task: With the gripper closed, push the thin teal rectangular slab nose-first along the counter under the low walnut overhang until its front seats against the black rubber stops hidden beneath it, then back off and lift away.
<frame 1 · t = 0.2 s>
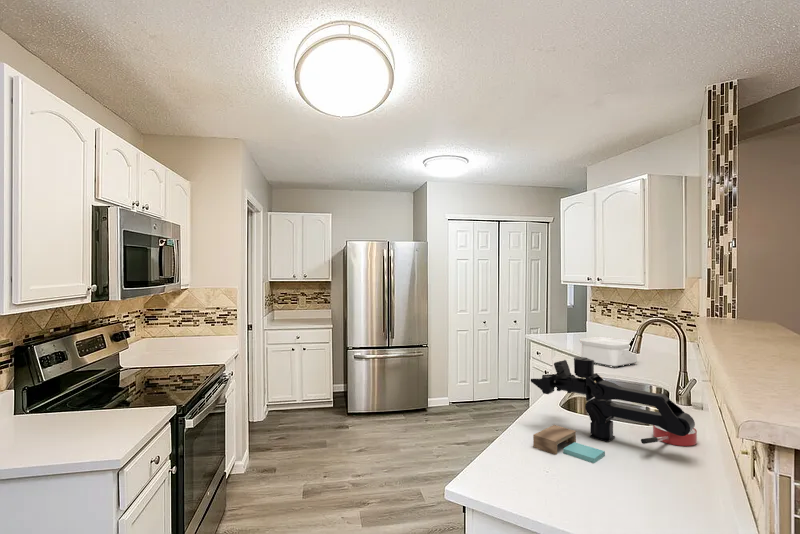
hand: (536, 378, 171), 17 cm above the countertop, fingers open, 9 cm apart
teal rectangular slab: (583, 456, 139), on the countertop
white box: (608, 363, 279), on the countertop
overhang: (554, 445, 146), on the countertop
frying pan: (666, 447, 145), on the countertop
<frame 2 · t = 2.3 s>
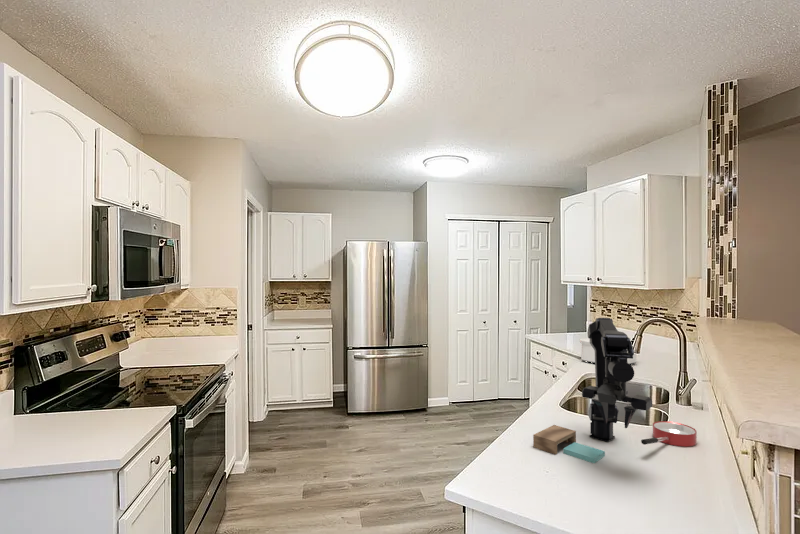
hand: (615, 425, 131), 12 cm above the countertop, fingers open, 6 cm apart
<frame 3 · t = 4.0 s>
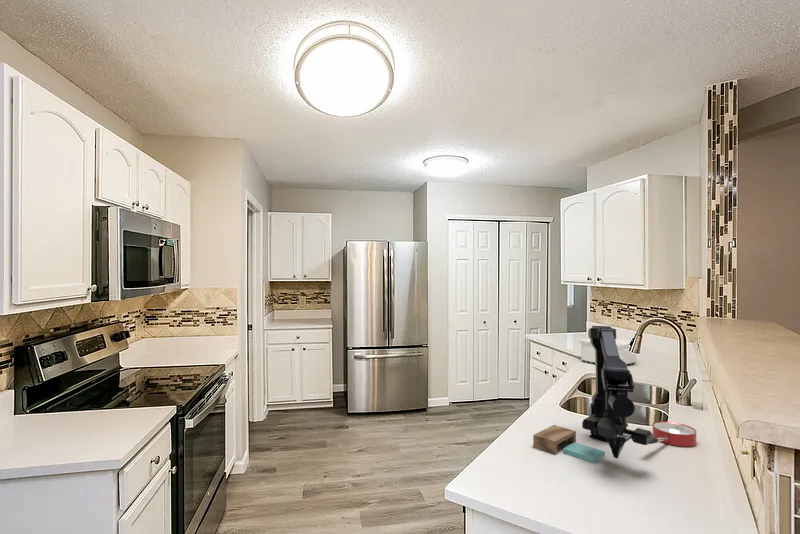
hand: (616, 457, 131), 2 cm above the countertop, fingers closed
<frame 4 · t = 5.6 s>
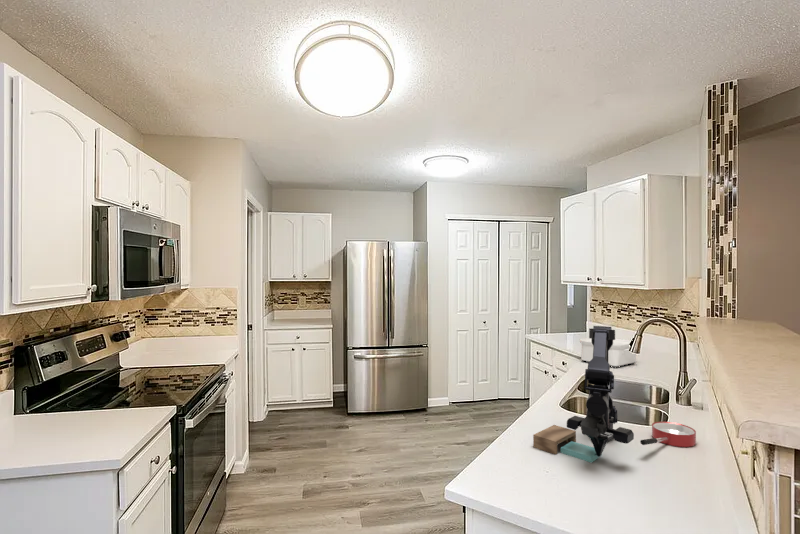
hand: (599, 456, 135), 1 cm above the countertop, fingers closed
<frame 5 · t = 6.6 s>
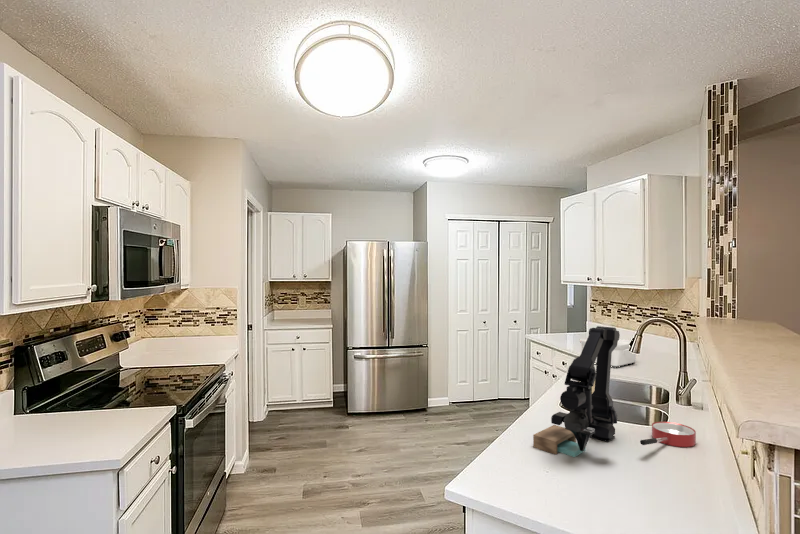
hand: (582, 450, 139), 1 cm above the countertop, fingers closed
teal rectangular slab: (565, 450, 143), on the countertop
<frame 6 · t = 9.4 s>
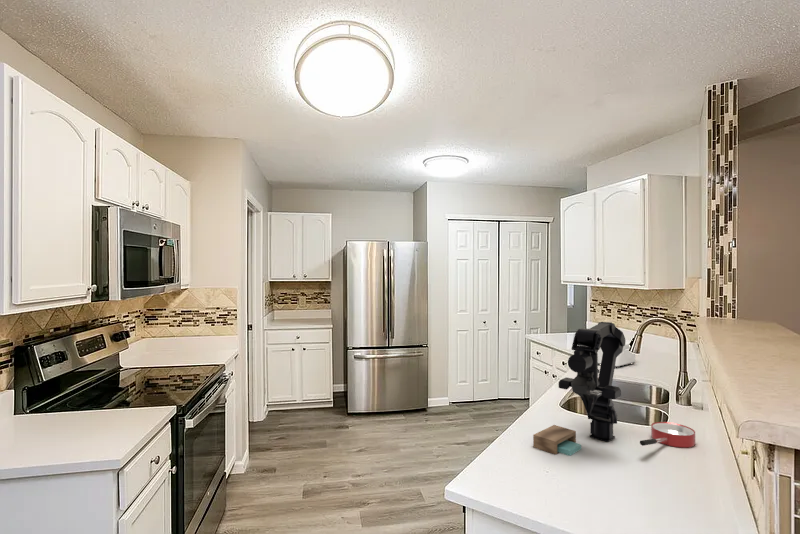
hand: (588, 413, 143), 12 cm above the countertop, fingers closed
teal rectangular slab: (561, 449, 144), on the countertop
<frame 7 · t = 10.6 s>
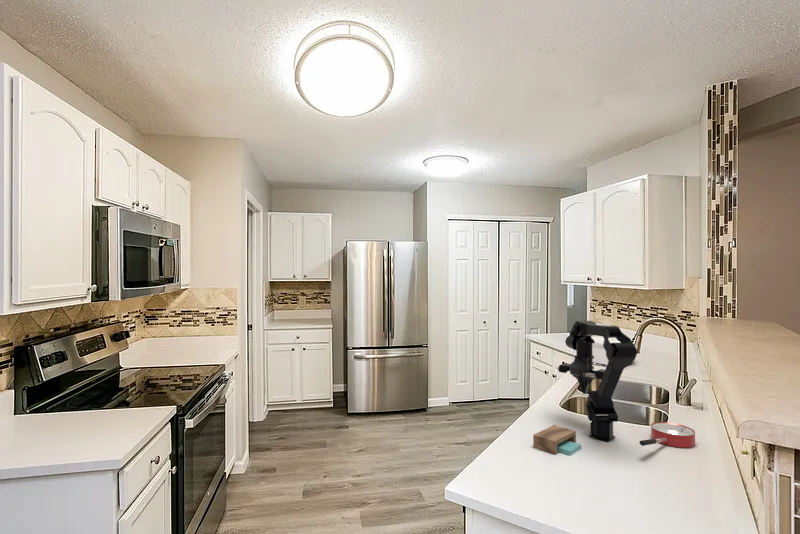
hand: (584, 393, 166), 12 cm above the countertop, fingers closed
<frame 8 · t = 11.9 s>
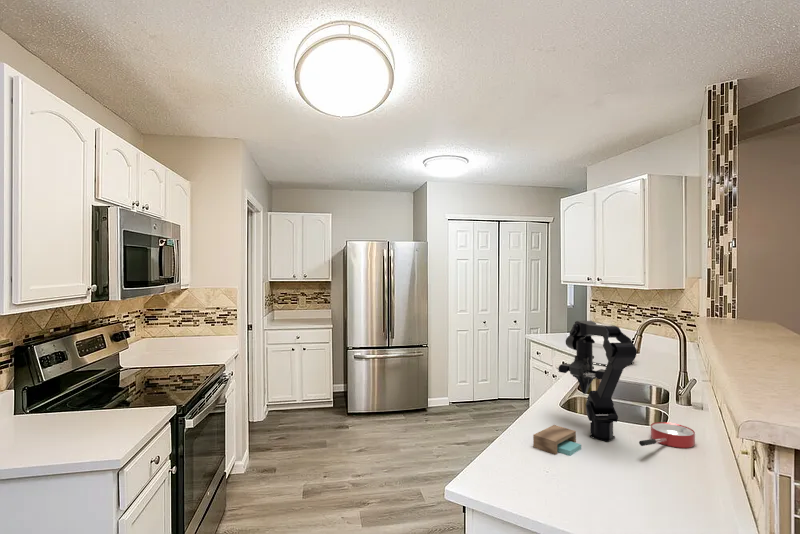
hand: (584, 393, 166), 12 cm above the countertop, fingers closed
at the end: teal rectangular slab 0.3 cm from the target spot on the overhang, point -0.5 cm above the overhang's base; teal rectangular slab tilted 0° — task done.
